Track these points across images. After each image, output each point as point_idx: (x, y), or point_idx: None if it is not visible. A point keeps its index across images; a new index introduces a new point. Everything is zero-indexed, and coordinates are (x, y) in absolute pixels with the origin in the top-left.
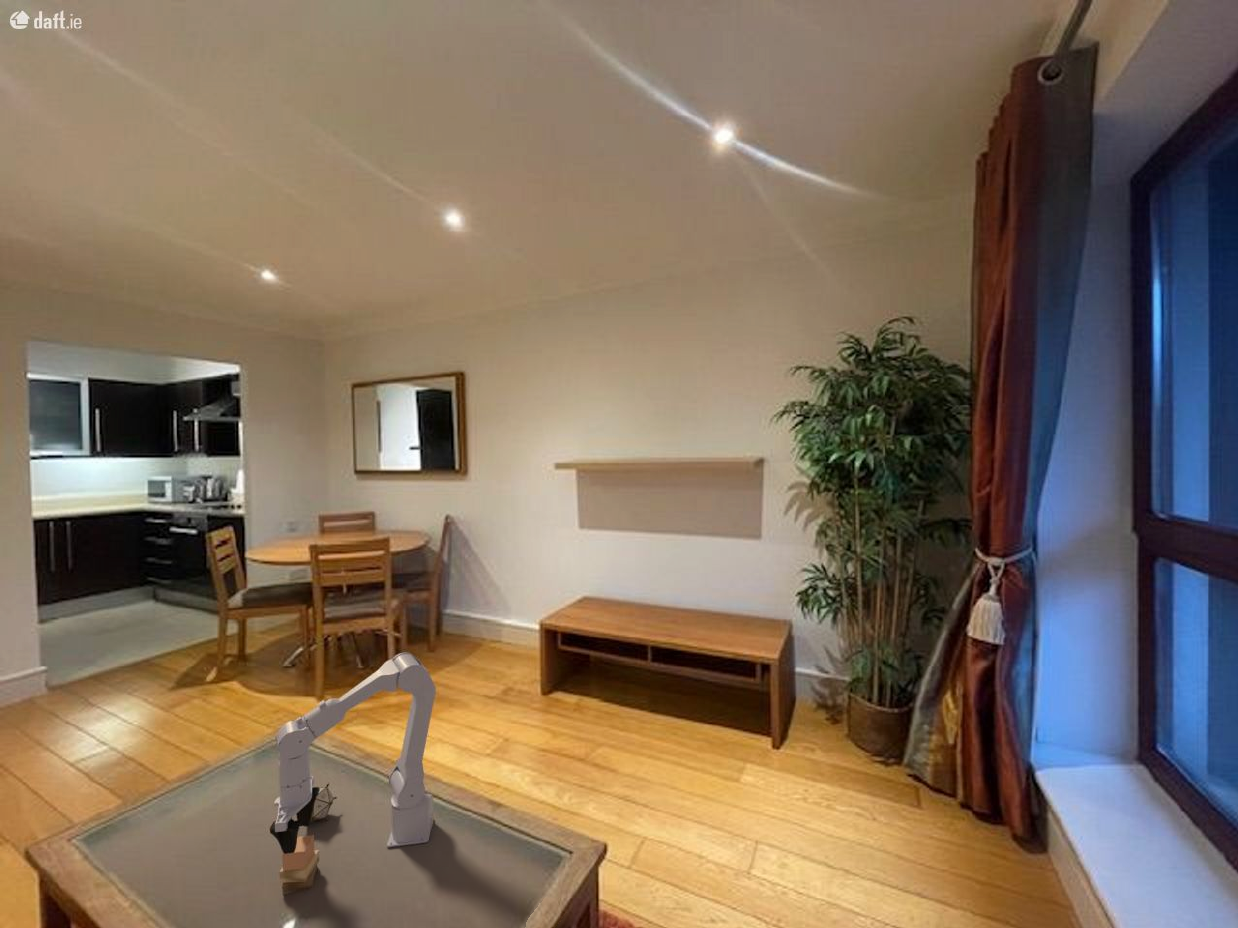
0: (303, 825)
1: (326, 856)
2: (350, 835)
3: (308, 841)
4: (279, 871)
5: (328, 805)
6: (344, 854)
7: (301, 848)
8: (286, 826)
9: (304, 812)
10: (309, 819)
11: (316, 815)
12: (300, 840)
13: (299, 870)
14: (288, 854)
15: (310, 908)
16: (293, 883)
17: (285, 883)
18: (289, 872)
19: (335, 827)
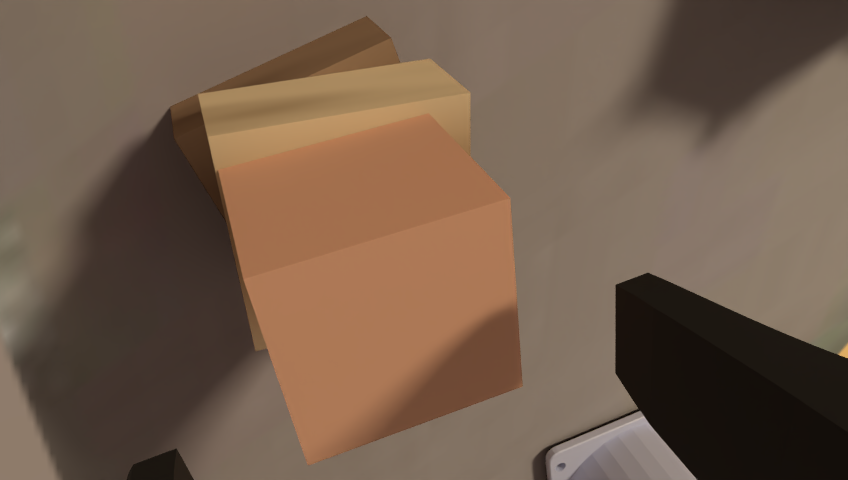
0: (617, 327)
1: (514, 184)
2: (664, 217)
3: (440, 400)
4: (209, 136)
5: None
6: (520, 280)
7: (343, 408)
8: None
9: (750, 466)
10: (659, 434)
11: None
12: (457, 316)
13: (250, 303)
14: (261, 323)
15: (104, 371)
16: (217, 203)
17: (196, 152)
18: (226, 221)
19: (755, 75)
